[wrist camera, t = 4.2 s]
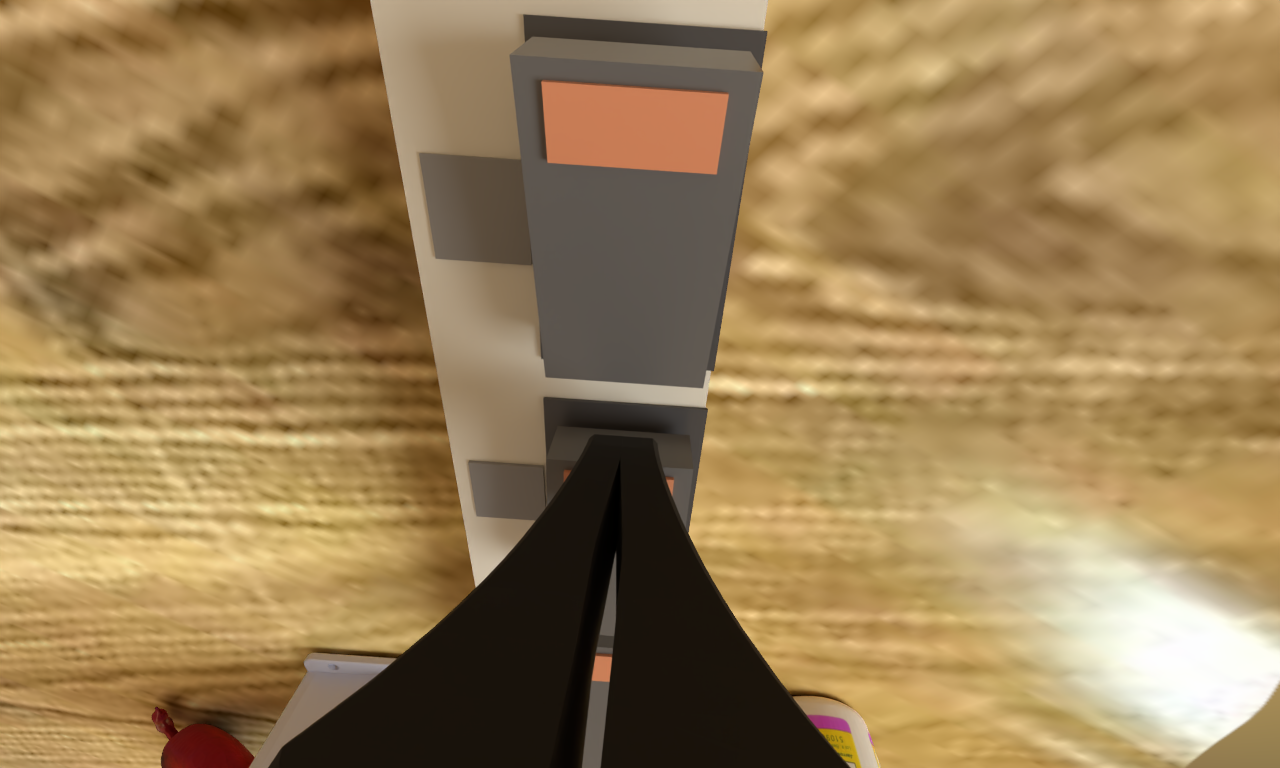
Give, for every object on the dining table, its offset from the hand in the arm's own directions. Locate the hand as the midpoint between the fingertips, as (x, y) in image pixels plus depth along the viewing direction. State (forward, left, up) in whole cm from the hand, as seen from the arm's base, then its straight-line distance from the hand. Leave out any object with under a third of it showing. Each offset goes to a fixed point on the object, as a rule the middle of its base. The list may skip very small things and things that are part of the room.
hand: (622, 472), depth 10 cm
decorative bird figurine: (-27, -26, -5) cm, 38 cm away
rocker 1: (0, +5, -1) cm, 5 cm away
